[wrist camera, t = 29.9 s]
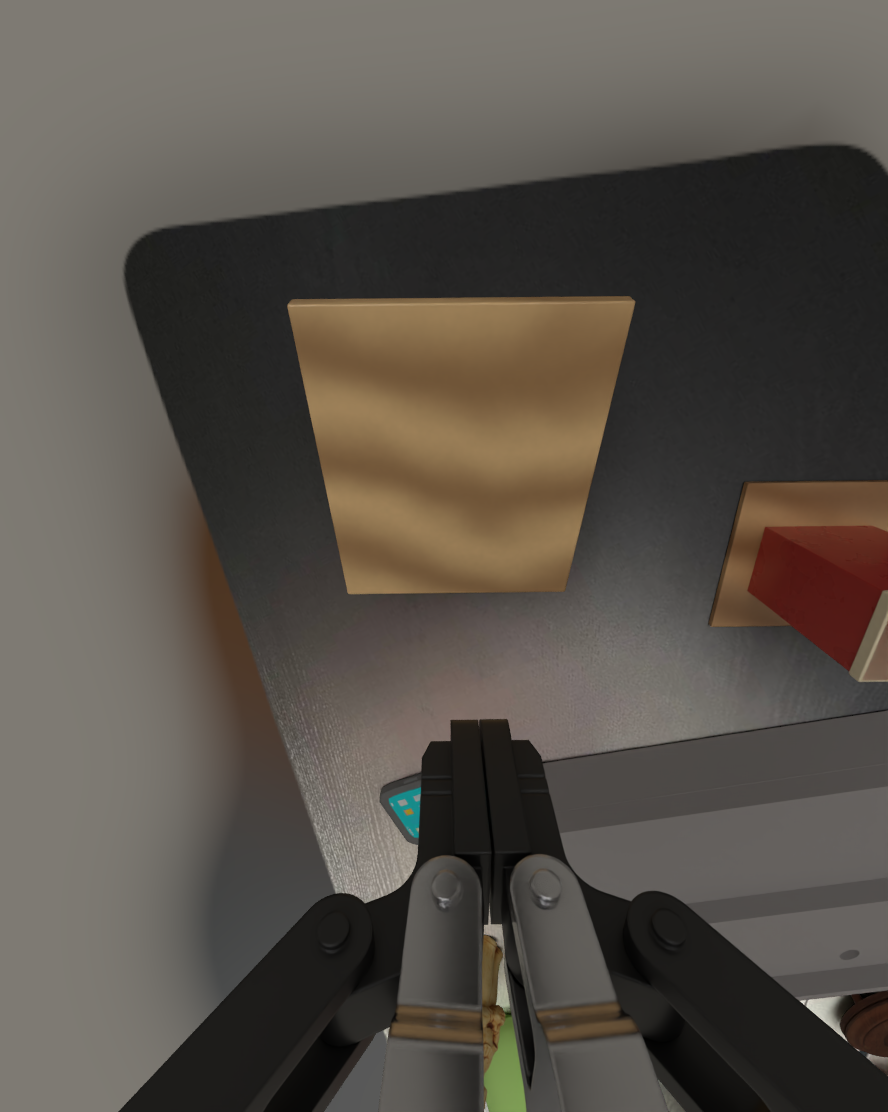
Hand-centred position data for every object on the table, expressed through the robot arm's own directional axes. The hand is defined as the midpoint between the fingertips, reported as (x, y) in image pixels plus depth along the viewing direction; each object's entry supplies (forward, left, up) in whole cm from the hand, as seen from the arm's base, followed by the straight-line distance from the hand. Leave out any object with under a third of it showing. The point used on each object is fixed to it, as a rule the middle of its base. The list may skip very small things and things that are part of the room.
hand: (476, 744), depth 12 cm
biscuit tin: (+5, +27, -23) cm, 36 cm away
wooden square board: (+5, +27, -24) cm, 36 cm away
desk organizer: (+39, +25, -24) cm, 52 cm away
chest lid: (-4, 0, -14) cm, 15 cm away
